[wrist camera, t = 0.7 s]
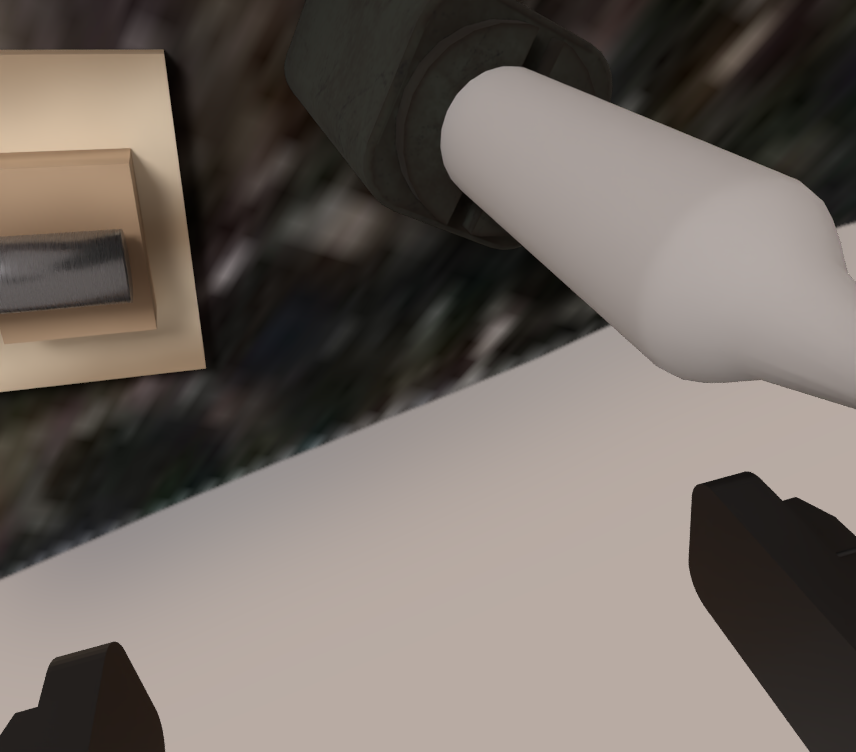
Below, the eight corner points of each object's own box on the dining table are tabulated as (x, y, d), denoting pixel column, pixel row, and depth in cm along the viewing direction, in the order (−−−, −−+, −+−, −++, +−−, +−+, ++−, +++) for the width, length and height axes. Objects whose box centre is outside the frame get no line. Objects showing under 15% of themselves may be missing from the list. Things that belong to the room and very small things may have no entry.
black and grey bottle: (454, 10, 28) (1289, 273, 7) (397, 141, 29) (939, 645, 9) (326, -59, 25) (1029, 46, 5) (274, 88, 27) (631, 606, 7)
